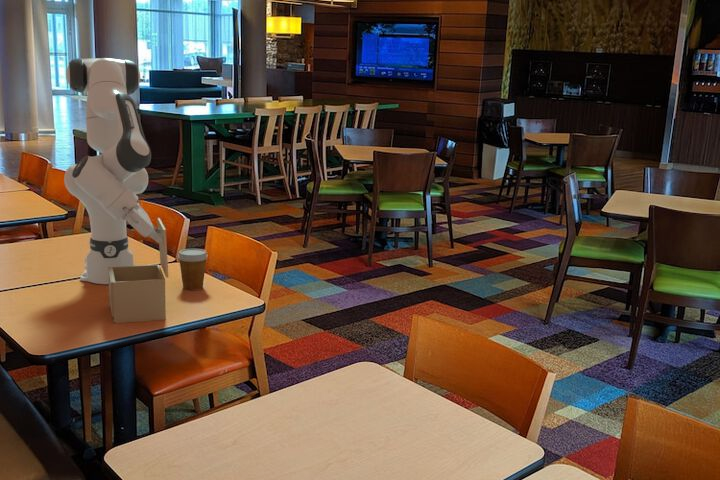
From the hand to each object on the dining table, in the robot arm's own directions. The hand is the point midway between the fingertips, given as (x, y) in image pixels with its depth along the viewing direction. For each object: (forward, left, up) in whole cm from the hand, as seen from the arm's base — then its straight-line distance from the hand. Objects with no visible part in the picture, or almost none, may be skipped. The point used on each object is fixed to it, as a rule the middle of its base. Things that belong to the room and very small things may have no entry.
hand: (159, 237), depth 217 cm
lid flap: (0, +1, -3) cm, 3 cm away
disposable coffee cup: (-21, +13, -23) cm, 34 cm away
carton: (0, -6, -22) cm, 23 cm away
